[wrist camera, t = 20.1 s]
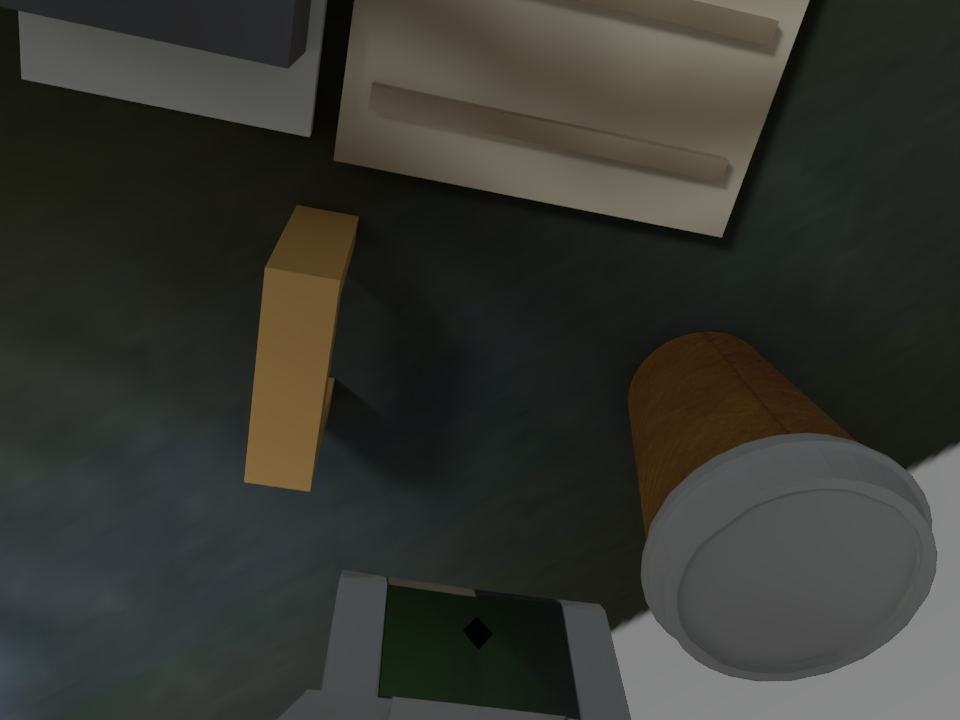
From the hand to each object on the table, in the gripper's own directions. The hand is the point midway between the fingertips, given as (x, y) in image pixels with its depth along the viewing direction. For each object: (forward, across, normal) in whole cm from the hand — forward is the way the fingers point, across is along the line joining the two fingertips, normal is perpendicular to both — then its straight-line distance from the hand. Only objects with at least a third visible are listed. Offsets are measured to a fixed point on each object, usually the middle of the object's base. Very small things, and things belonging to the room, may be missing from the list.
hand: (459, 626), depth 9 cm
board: (+24, -4, -4) cm, 25 cm away
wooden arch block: (+24, +4, +8) cm, 26 cm away
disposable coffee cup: (+24, -13, +9) cm, 29 cm away
